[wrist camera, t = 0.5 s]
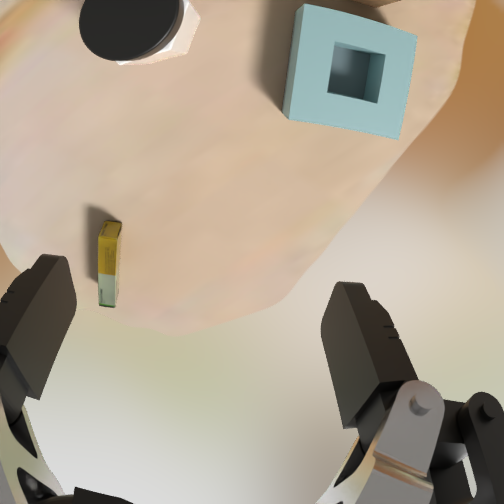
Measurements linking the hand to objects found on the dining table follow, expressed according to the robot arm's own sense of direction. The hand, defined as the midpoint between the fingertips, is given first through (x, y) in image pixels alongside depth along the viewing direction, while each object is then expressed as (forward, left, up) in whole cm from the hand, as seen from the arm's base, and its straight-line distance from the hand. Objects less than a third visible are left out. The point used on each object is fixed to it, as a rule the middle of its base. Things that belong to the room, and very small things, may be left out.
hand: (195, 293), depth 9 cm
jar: (-11, -8, -29) cm, 32 cm away
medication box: (+19, -14, -29) cm, 38 cm away
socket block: (-8, +12, -29) cm, 32 cm away
